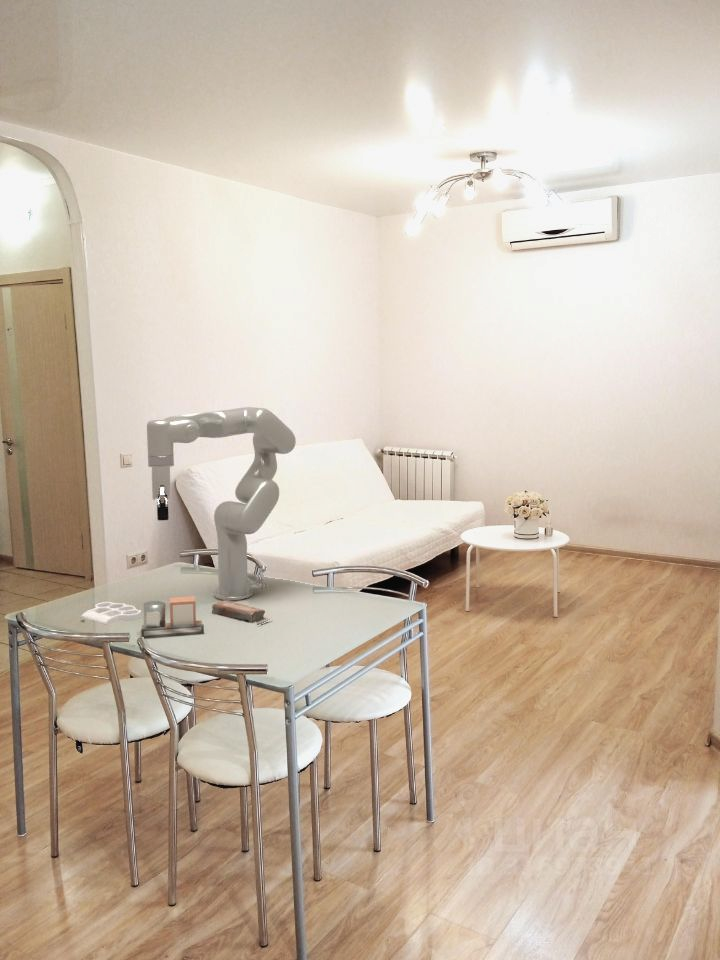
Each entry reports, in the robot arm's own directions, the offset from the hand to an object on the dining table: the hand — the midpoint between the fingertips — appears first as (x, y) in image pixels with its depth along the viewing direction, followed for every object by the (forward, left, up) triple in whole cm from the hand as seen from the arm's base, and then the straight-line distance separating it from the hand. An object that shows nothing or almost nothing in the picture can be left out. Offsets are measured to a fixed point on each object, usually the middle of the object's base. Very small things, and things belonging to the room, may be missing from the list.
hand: (162, 516), depth 246 cm
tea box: (-4, +21, -29) cm, 36 cm away
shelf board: (-1, +20, -30) cm, 36 cm away
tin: (+4, +21, -29) cm, 36 cm away
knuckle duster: (+15, +2, -31) cm, 35 cm away
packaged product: (-21, +12, -31) cm, 39 cm away
